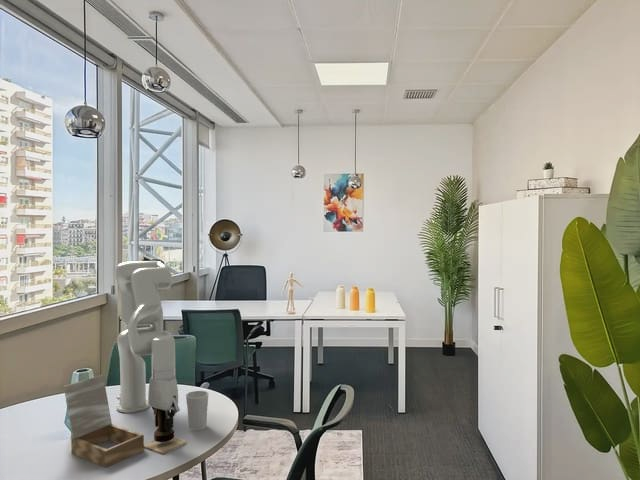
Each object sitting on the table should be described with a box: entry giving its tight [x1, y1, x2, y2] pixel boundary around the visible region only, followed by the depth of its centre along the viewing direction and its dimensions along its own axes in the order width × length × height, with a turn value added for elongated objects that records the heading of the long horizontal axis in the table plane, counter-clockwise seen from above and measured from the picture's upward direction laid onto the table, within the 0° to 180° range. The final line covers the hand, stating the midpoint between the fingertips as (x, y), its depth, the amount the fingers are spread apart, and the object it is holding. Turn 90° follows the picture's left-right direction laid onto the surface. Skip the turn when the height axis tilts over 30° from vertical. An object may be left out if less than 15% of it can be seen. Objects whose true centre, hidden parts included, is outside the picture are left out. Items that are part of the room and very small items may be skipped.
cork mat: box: [144, 437, 187, 455], centre depth 172 cm, size 10×10×1 cm
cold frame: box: [63, 374, 145, 468], centre depth 168 cm, size 22×14×22 cm, turn 58°
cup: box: [185, 390, 209, 431], centre depth 187 cm, size 8×8×12 cm
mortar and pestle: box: [153, 409, 175, 442], centre depth 172 cm, size 7×6×18 cm
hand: (164, 426), depth 172 cm, fingers closed on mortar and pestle, 3 cm apart
